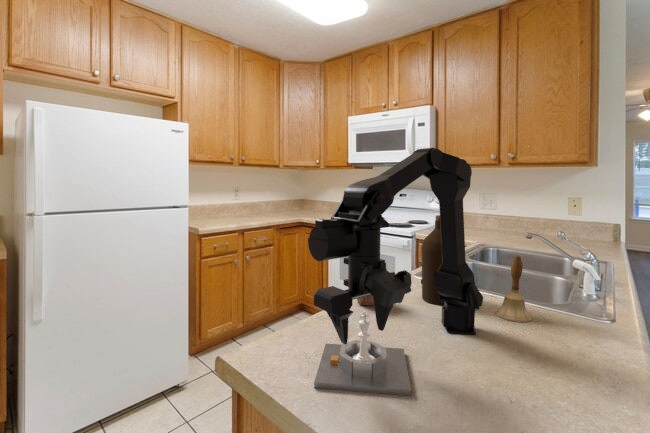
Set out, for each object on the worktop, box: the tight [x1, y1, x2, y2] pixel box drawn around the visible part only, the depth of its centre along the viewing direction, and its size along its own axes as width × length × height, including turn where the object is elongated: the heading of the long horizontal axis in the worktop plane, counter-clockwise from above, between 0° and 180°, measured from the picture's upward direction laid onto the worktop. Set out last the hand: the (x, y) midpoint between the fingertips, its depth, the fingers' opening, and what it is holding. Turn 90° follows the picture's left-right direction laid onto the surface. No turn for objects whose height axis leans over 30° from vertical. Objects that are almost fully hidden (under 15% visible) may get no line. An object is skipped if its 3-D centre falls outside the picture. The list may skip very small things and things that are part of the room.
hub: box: [313, 339, 412, 397], centre depth 63 cm, size 16×14×4 cm
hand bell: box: [495, 255, 533, 323], centre depth 88 cm, size 8×8×16 cm
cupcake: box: [356, 295, 374, 306], centre depth 97 cm, size 9×9×10 cm
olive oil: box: [420, 214, 445, 306], centre depth 100 cm, size 11×11×25 cm
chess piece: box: [352, 310, 375, 361], centre depth 63 cm, size 5×5×10 cm
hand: (363, 336), depth 63 cm, fingers open, 9 cm apart
